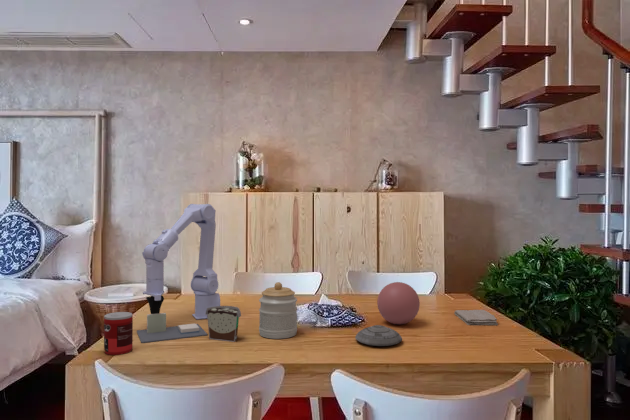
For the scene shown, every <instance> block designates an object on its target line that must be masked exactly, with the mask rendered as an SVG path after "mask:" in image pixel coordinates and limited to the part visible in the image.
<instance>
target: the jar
mask: <svg viewBox="0 0 630 420" xmlns="http://www.w3.org/2000/svg"><path fill="white" fill-rule="evenodd" d="M295 293H296V292H295V291H294V290H292V289H291V288H289V287H284V286H283V284H282V282H280V281H279V282H275V283H274V287H267V288H266V289H265V290H263V291H261V295H262V297H260V298H259V299H258V301H259V303H260V308H258V311H259V326H258V333H259V335H260V336H261V337H263V338H265V339H271V340H273V339H275V340H276V339H279V340H280V339H288V338H292V337H294V336H296V335H297V331H298V323H297V322H298V317H297V316H298V308H297V304H296V303H297V302H298V298H297V296H295Z"/></svg>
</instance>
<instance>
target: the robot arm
mask: <svg viewBox="0 0 630 420" xmlns="http://www.w3.org/2000/svg"><path fill="white" fill-rule="evenodd" d="M192 223H195V224H196V225H198V227H199V228H200V240H199V253H198V264H197V265H198V267H197V268H196V270H195V271H194V272H193V273H192V279H191V280H190V288H191V290H192V291H193V294H194V313H192V314H191V316H192V317H193V318H195V320H205V319H207V314H206V310H207V308H210V307H215V306H221V296H220V293H219V292H217V291H218V289H219V282H218V281H219V280H218V274H217V273H216V271H215V270H214V269H213V264H214V251H215V237H216V225H217V224H216V209H215V208H214V207H213V205H212V204H210V203H205V204H204V203H201V204H200V203H198V204H197V203H190V204H188V205H187V206H186V207H185V208H184V209H183V214H182V215H180V217H179V218H178V220H177V221H176V222H175V223H174V224H173V225H172V226H171V228H166V229H163V230H162V231H161V233H160V234H159V236H158V237H156V239H154V240H153V241H152V243H150V244H147V245H146V246H145V247H144V249H143V251H142V252H141V254H142V257H143V259H144V260H145V261H144V263H145V266H146V267H145V268H146V272H145V276H146V277H145V278H146V279H145V280H146V284H145V285H146V289H145V291H142V295H147V296H146V297H145V299H146V301H147V303H148V306H149V311H150V314H158V313H161V307H162V304H163V302H164V300H165V298H164V296H163V295H164V293H165V289H164V285H165V283H164V282H165V281H164V278H165V277H164V273H165V271H164V269H165V268H164V261H165V260H166V259H167V258H168V255H169V254H168V253H169V251H170V249H171V248H172V247H173V246H174V245H175V244H176V243H177V241H178V240H179V235H181V233H182V232H183V231H184V230H185V229H186V228H187V227H188V226H189V225H190V224H192Z"/></svg>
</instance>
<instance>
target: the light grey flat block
mask: <svg viewBox="0 0 630 420" xmlns="http://www.w3.org/2000/svg"><path fill="white" fill-rule="evenodd" d="M197 324H198V323H187V324H180V325H179V324H178V325H177V326H178V330H179V332H180V333H181V334H188V333H197V332H199V327H198V326H197Z"/></svg>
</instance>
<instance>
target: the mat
mask: <svg viewBox="0 0 630 420" xmlns="http://www.w3.org/2000/svg"><path fill="white" fill-rule="evenodd" d="M196 324H197V326H198V327H199V332H197V333H188V334H181V333H180V332H179V330H178V325H174V326H166V331H163V332H154V333H147V328H145V329H138V330H136V334H137V336H138V339H139V341H140V343H141V344H145V343H147V344H149V343H153V342H154V343H155V342H164V341H172V340H173V341H174V340H179V339H181V340H182V339H189V338H197V337H205V336H209V333H207V332H206V331H205V330H204V329H203V328H202V326H200V324H199V323H196Z"/></svg>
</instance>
